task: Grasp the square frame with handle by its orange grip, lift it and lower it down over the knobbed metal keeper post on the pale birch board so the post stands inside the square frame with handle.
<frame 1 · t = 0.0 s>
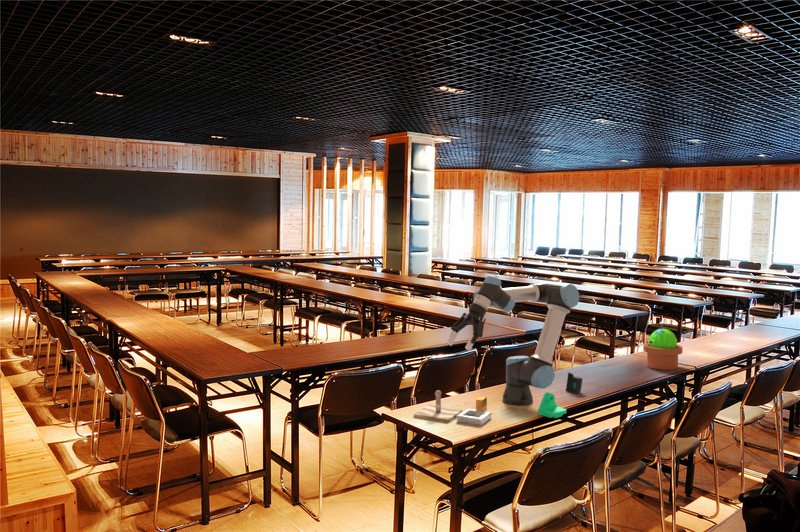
hand: (457, 347, 262), 36 cm above the table, tool tilted 35°, fingers open, 13 cm apart
square frame with handle: (474, 420, 272), on the table
camera mount: (552, 415, 277), on the table
speaker: (574, 392, 315), on the table
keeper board: (438, 415, 280), on the table
potted cactus: (662, 367, 368), on the table
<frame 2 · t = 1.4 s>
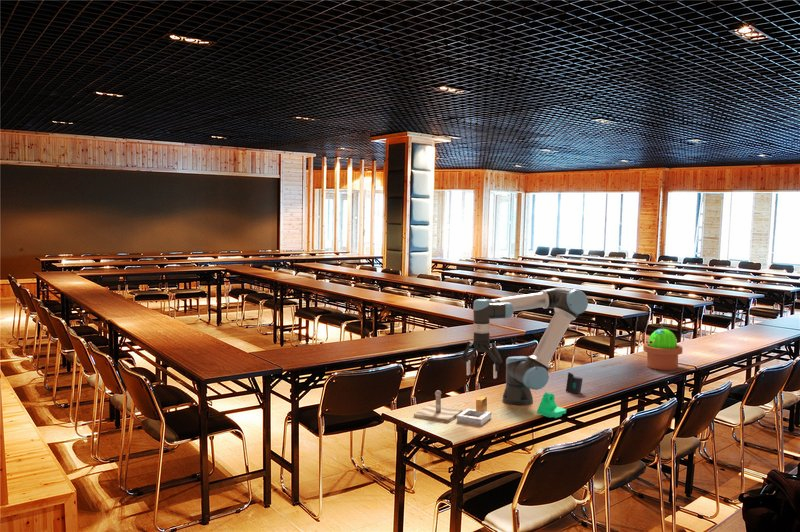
hand: (481, 376, 279), 19 cm above the table, tool pointing down, fingers open, 13 cm apart
nothing on the table moved.
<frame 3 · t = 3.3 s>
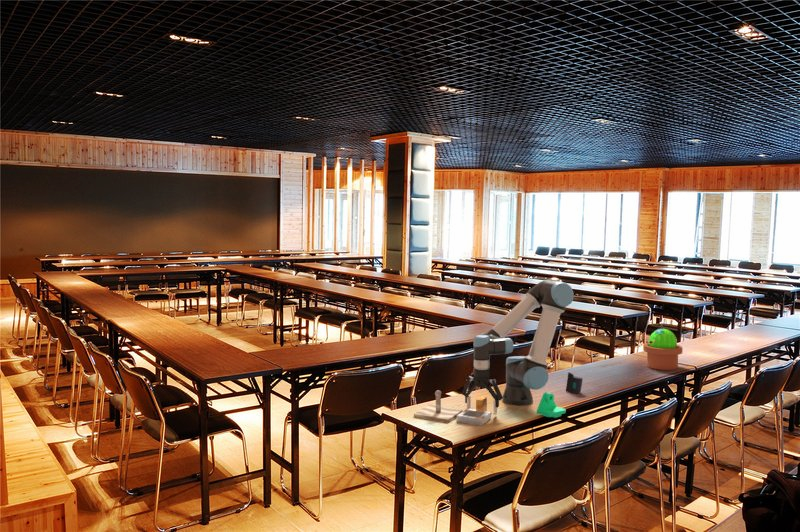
hand: (481, 411, 280), 1 cm above the table, tool pointing down, fingers open, 13 cm apart
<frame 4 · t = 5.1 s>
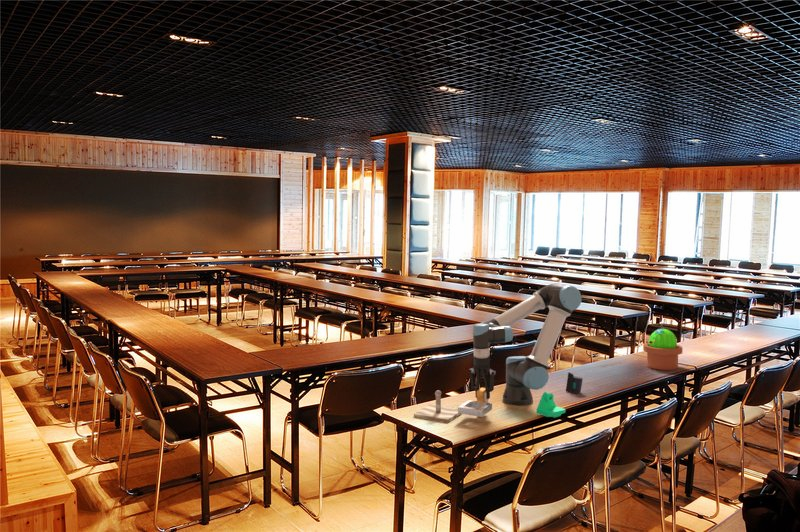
hand: (482, 404, 280), 5 cm above the table, tool pointing down, fingers closed on square frame with handle, 3 cm apart
square frame with handle: (475, 411, 272), point 4 cm above the table, touching gripper
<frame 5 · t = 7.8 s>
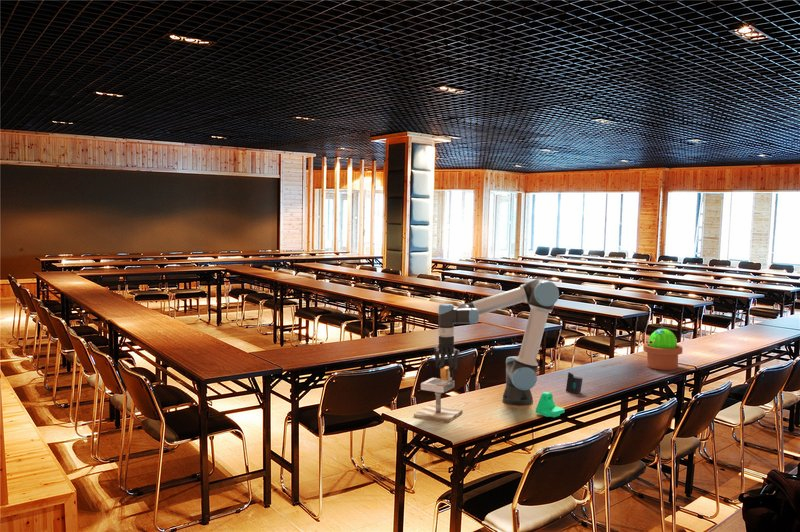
hand: (446, 382, 287), 13 cm above the table, tool pointing down, fingers closed on square frame with handle, 3 cm apart
square frame with handle: (437, 388, 279), point 13 cm above the table, touching gripper
when the fingers open (3 cm above the table, at t = 10.8 s): square frame with handle drops 1 cm, resting on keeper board.
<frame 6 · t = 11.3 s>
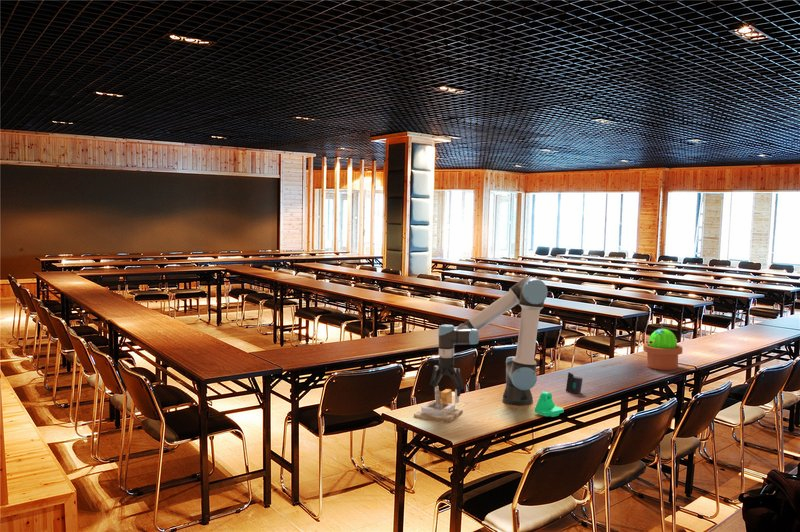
hand: (446, 401, 288), 4 cm above the table, tool pointing down, fingers open, 10 cm apart
square frame with handle: (438, 411, 280), point 1 cm above the table, touching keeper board
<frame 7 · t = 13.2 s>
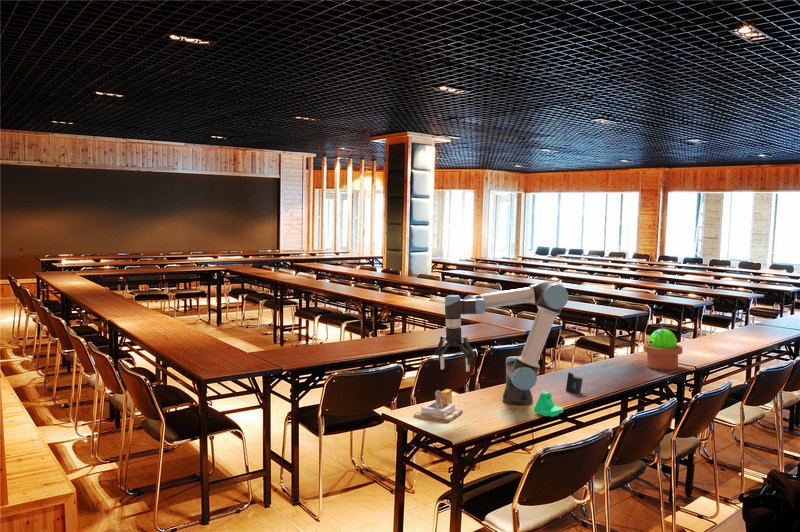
hand: (455, 370, 287), 20 cm above the table, tool pointing down, fingers open, 13 cm apart
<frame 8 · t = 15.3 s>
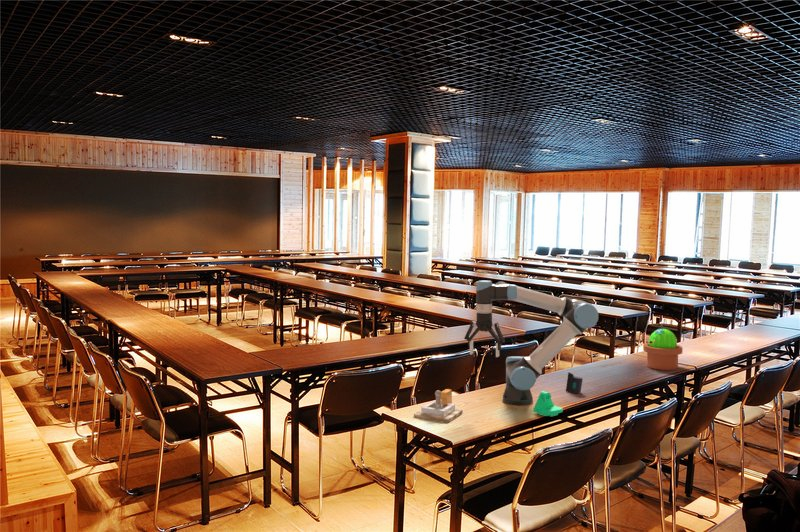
hand: (484, 355, 286), 27 cm above the table, tool pointing down, fingers open, 13 cm apart
at the end: square frame with handle 0.0 cm off-centre on the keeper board, point 1.5 cm above the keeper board's base; the gripper is holding nothing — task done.
